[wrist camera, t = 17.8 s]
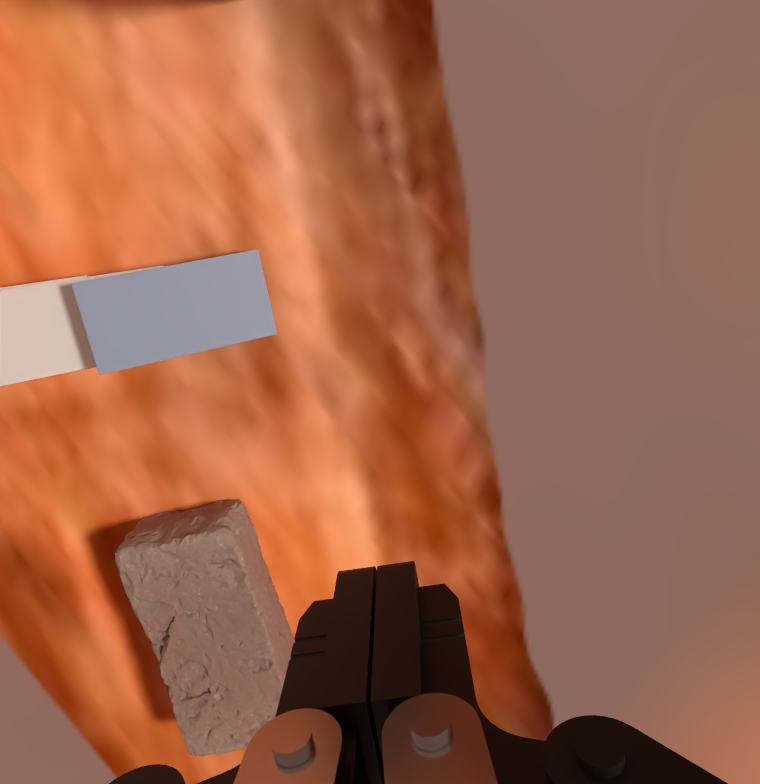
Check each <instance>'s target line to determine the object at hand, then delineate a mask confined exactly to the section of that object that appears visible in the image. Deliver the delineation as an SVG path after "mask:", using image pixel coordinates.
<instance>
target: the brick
mask: <svg viewBox="0 0 760 784" xmlns="http://www.w3.org/2000/svg"><path fill="white" fill-rule="evenodd" d="M124 538H125V540H124V541H123V542H122V543H121V544H120V545H119V547H118V549H117V550H116V552H115V563H116V566H117V568H118V571H119V574H120V577H121V580H122V583H123V586H124V589H125V592H126V594H127V597H128V599H129V602H130V605H131V607H132V609H133V611H134V613H135V615H136V617H137V618H138V620H139V622H140V623H141V625H142V627H143V630H144V633H145V635H146V636H147V637H148V639H149V640H150V641H151V642H152V645H151V647H152V649H153V652H154V654H155V655H156V657H157V660H158V662H159V668H160V672H161V677H162V678H163V679H164V683H165V684H166V685H167V686H168V696H169V698H170V701H171V702H172V707H173V711H174V715H175V718H176V721H177V724H178V726H179V729H180V732H181V734H182V737H183V740H184V742H185V744H186V748H187V751H188V752H189V753H190V754H192V755H195V756H206V755H211V754H216V755H220V754H223V753H226V752H231V751H235V750H240V749H246V748H247V746H248V744H249V742H250V741H251V739H252V738H253V736H254V735H255V734H256V733H257V731H258V730H259V729H260V728H261V727H262V726H264V725H265V724H266V723H267V722H269V721H270V720H272V719H273V718H275V716H276V712H277V708H278V704H279V700H280V696H281V692H282V688H283V684H284V680H285V676H286V672H287V668H288V663H289V660H290V659H291V651H292V647H293V643H295V639H294V637H293V636H292V633H291V630H290V627H289V624H288V621H287V619H286V616H285V612H284V609H283V607H282V605H281V603H280V602H279V597H278V594H277V592H276V590H275V587H274V585H273V583H272V579H271V576H270V574H269V570H268V568H267V565H266V563H265V561H264V559H263V557H262V552H261V547H260V544H259V542H258V537H257V534H256V531H255V528H254V526H253V524H252V522H251V520H250V517H249V514H248V512H247V509H246V507H245V505H244V504H243V503H242V502H241V501H240V500H227V501H222V500H219V501H215V502H213V503H211V504H208V505H207V506H202V507H200V508H194V509H188V510H186V511H174V512H171V513H170V512H163V513H157V514H155V515H152V516H148V517H144V518H143V519H141V520H140V521H138V522H137V524H136V526H135V528H134V529H133V530H131V531H130V532H129V533H128V534H127V535H126V536H125V537H124Z"/></svg>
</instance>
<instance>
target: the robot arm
mask: <svg viewBox="0 0 760 784" xmlns="http://www.w3.org/2000/svg"><path fill="white" fill-rule="evenodd" d="M109 784H185V781H184V779H183V777H182V775H181V774H180V772H179V771H178V770H176V769H175V768H173V767H170V766H167V765H160V764H157V765H148V766H143V767H140V768H137V769H134V770H132V771H129V772H127V773H125V774H123V775H122V776H120V777H118V778H117V779H115V780H113V781H112V782H111V783H109ZM197 784H728V783H726V782H724V781H722V780H721V779H719V778H718V777H716V776H714V775H712V774H711V773H709V772H707V771H706V770H704V769H702V768H701V767H699V766H697V765H696V764H694V763H692V762H691V761H689V760H687V759H686V758H684V757H682V756H681V755H679V754H677V753H676V752H674V751H672V750H670V749H669V748H667V747H665V746H664V745H662V744H660V743H659V742H657V741H655V740H654V739H652V738H650V737H649V736H647V735H645V734H643V733H642V732H640V731H639V730H637V729H635V728H634V727H632V726H630V725H628V724H626V723H624V722H621V721H619V720H616V719H613V718H609V717H605V716H596V715H593V716H581V717H575V718H572V719H569V720H567V721H565V722H563V723H561V724H559V725H558V726H557V727H555V728H554V729H553V731H552V732H551V733H550V734H549V736H548V737H547V739H546V741H542V740H536V739H530V738H524V737H520V736H516V735H513V734H510V733H508V732H506V731H504V730H502V729H500V728H498V727H497V726H495V725H494V724H492V723H491V722H490V721H489V720H488V719H487V718H486V717H485V716H484V714H483V713H482V712H481V710H480V708H479V706H478V704H477V701H476V697H475V691H474V685H473V679H472V674H471V668H470V662H469V657H468V651H467V645H466V640H465V634H464V628H463V622H462V617H461V611H460V605H459V600H458V598H457V596H456V595H455V594H454V593H453V592H452V591H451V590H450V589H449V588H448V587H447V586H446V585H445V584H439V585H431V586H423V587H419V584H418V578H417V572H416V566H415V562H414V561H411V562H404V563H396V564H389V565H382V566H378V567H377V570H376V567H368V568H360V569H353V570H346V571H339V572H338V575H337V580H336V586H335V592H334V598H333V599H327V600H319V601H314V602H313V603H312V604H311V606H310V607H309V608H308V609H307V611H306V612H305V613H304V614H303V616H302V617H301V618H300V619H299V623H298V627H297V631H296V635H295V643H293V647H292V651H291V659H290V660H289V663H288V668H287V672H286V676H285V680H284V684H283V688H282V692H281V696H280V700H279V704H278V708H277V712H276V716H275V718H273V719H272V720H270V721H269V722H267V723H266V724H265V725H264V726H262V727H261V728H260V729H259V730H258V731H257V733H256V734H255V735H254V736H253V738H252V739H251V741H250V742H249V744H248V746H247V748H246V751H245V754H244V756H243V759H242V762H241V764H239V765H238V766H236V767H234V768H233V769H231V770H229V771H226V772H224V773H222V774H219V775H217V776H214V777H212V778H209V779H207V780H204V781H202V782H199V783H197Z"/></svg>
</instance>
